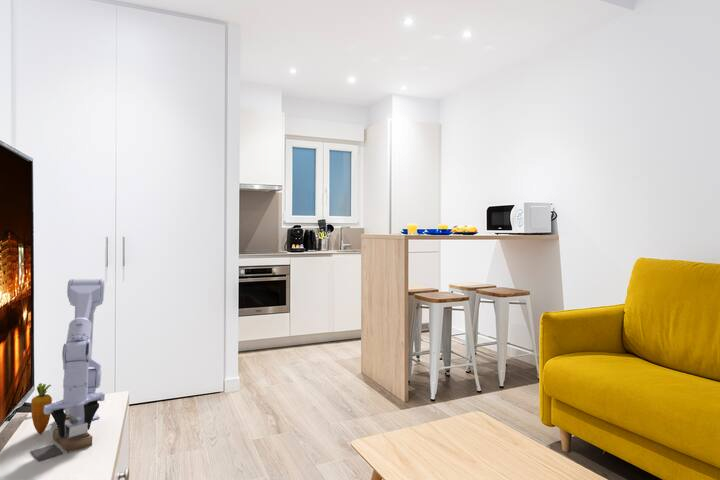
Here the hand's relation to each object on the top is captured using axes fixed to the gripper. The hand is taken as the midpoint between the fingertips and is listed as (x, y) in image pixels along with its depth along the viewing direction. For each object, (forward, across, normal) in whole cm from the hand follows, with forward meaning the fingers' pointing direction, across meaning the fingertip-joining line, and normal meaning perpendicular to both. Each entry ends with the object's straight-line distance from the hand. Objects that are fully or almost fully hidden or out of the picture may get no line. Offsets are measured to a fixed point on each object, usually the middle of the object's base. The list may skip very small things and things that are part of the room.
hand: (74, 432), depth 125 cm
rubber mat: (+3, -7, -1) cm, 8 cm away
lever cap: (+1, 0, 0) cm, 1 cm away
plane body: (+3, 0, +2) cm, 4 cm away
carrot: (+3, -4, +12) cm, 14 cm away
